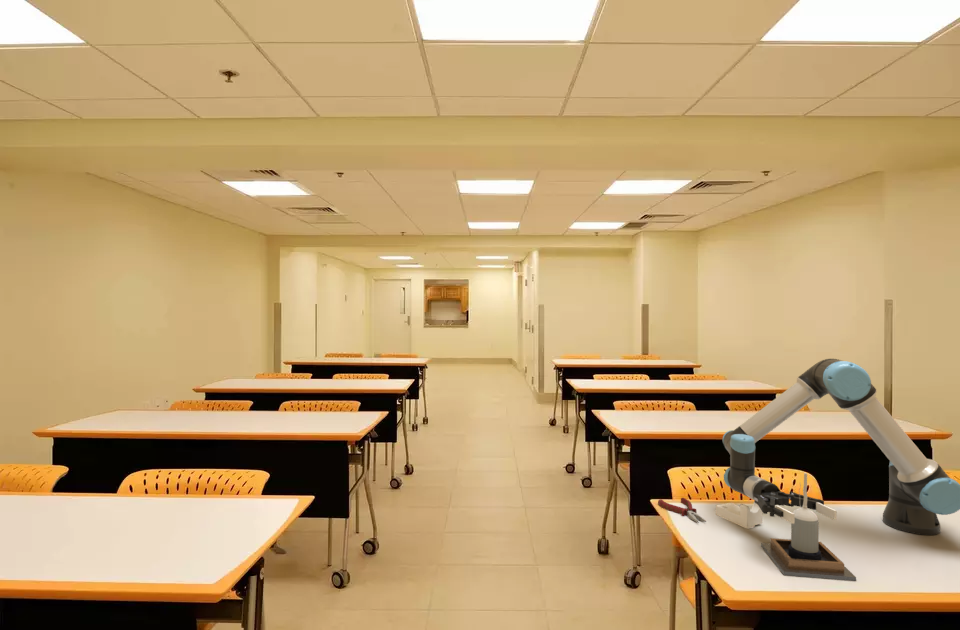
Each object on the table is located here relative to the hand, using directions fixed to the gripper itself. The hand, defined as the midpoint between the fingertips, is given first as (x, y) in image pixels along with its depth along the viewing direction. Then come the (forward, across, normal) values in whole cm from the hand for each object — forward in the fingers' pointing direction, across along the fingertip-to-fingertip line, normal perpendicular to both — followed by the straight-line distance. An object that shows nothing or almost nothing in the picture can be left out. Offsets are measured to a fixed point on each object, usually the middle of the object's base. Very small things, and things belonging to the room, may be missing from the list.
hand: (814, 517), depth 149 cm
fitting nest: (-3, 0, -14) cm, 15 cm away
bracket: (-34, -1, -15) cm, 38 cm away
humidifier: (-3, 0, -14) cm, 14 cm away
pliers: (-45, +15, -15) cm, 49 cm away
